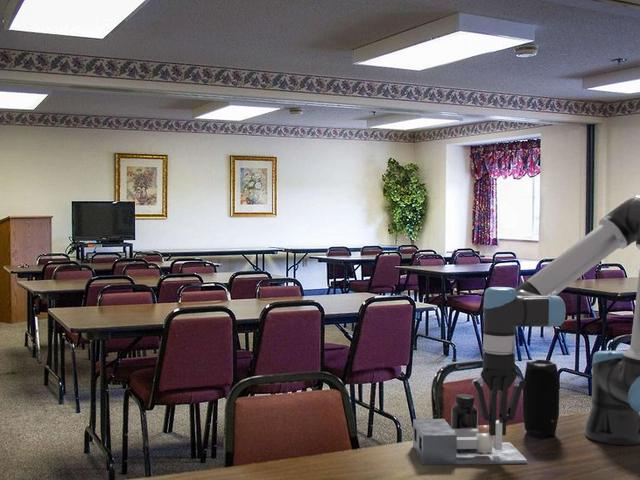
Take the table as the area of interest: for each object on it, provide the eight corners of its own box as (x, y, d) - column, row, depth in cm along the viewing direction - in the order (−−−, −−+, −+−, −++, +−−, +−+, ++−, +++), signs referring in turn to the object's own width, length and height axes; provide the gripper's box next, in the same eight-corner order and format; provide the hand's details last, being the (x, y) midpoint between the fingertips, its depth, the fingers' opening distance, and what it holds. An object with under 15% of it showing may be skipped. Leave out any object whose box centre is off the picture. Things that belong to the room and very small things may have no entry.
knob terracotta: (488, 440, 194) (488, 422, 194) (492, 445, 190) (493, 427, 189) (437, 440, 193) (437, 423, 193) (440, 446, 189) (441, 428, 189)
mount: (509, 445, 196) (510, 418, 195) (527, 463, 182) (527, 434, 181) (412, 446, 194) (413, 419, 194) (422, 464, 180) (423, 435, 180)
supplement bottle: (466, 447, 194) (466, 400, 193) (445, 441, 199) (445, 395, 198) (482, 442, 198) (483, 396, 198) (461, 436, 203) (462, 391, 203)
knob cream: (487, 448, 187) (487, 431, 187) (492, 454, 182) (492, 436, 182) (434, 449, 186) (435, 431, 186) (438, 455, 182) (438, 436, 182)
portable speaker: (563, 438, 201) (564, 365, 200) (528, 439, 200) (529, 365, 200) (551, 429, 210) (552, 358, 209) (517, 430, 209) (518, 359, 208)
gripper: (520, 348, 188) (518, 443, 189) (468, 348, 187) (466, 443, 188) (530, 354, 180) (528, 453, 181) (476, 354, 180) (474, 453, 181)
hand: (497, 448), depth 185 cm, fingers closed
